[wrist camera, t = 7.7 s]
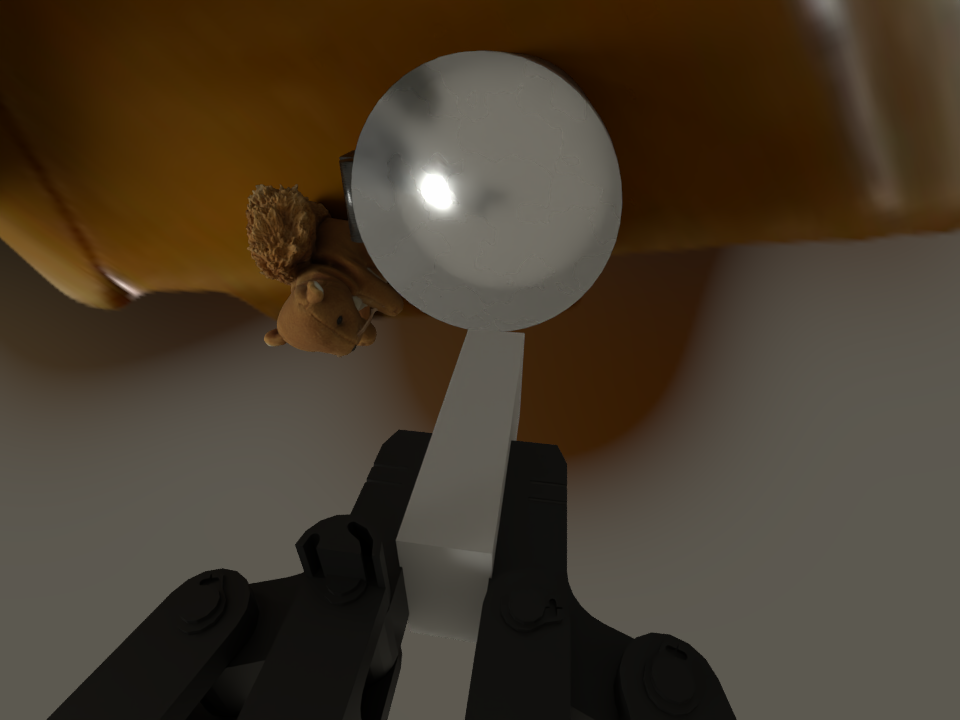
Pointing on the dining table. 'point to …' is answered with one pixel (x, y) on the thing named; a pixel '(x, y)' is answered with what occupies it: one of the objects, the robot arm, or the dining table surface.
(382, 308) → the stuffed squirrel
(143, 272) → the dining table surface
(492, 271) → the lid
